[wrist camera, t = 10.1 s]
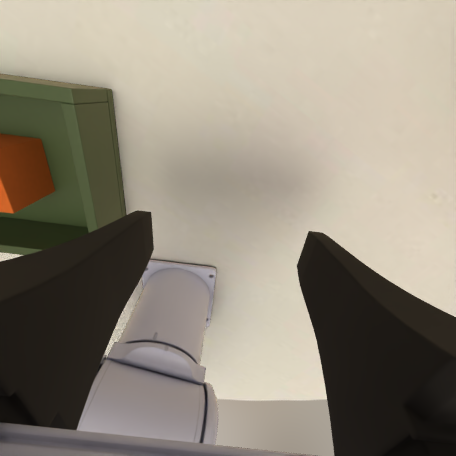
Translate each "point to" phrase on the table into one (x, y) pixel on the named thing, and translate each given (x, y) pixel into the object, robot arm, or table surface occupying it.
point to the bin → (63, 161)
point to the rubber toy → (22, 172)
